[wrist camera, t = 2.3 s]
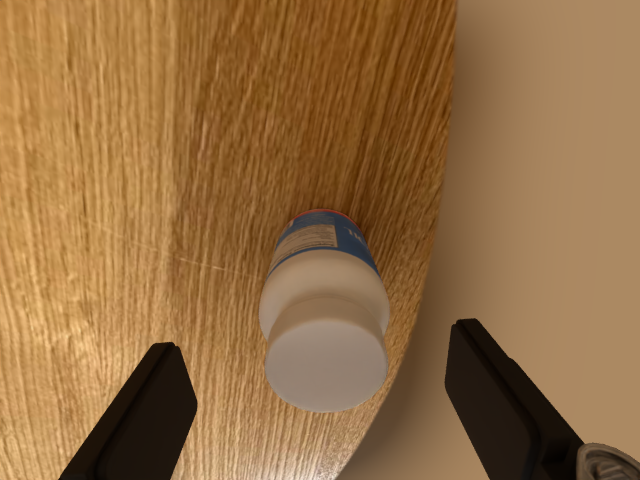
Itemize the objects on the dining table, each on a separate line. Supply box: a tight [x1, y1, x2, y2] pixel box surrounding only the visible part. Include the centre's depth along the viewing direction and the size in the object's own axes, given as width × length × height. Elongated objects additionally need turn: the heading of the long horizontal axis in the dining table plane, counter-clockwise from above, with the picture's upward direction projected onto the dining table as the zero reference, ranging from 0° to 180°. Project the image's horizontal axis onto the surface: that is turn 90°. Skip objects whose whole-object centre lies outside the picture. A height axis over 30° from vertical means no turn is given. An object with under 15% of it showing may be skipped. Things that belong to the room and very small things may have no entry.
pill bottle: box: [259, 209, 390, 413], centre depth 14 cm, size 6×5×10 cm
